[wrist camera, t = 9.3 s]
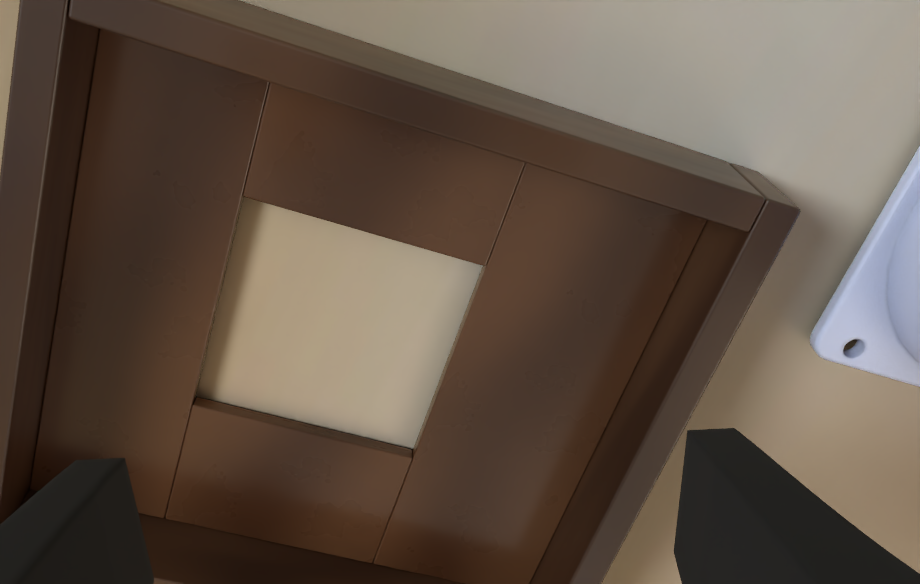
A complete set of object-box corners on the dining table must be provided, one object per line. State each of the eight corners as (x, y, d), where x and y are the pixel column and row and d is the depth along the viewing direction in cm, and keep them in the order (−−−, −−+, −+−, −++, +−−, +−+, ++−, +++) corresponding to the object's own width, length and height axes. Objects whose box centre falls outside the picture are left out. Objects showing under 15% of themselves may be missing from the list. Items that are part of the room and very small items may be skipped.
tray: (760, 172, 19) (803, 210, 17) (538, 611, 25) (550, 681, 23) (73, -55, 17) (22, -44, 15) (-1, 496, 22) (-46, 564, 20)
